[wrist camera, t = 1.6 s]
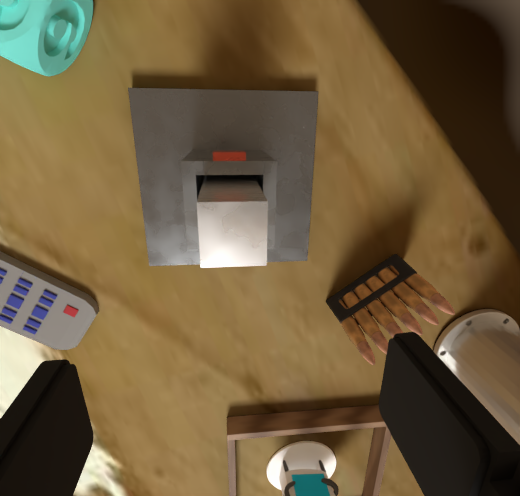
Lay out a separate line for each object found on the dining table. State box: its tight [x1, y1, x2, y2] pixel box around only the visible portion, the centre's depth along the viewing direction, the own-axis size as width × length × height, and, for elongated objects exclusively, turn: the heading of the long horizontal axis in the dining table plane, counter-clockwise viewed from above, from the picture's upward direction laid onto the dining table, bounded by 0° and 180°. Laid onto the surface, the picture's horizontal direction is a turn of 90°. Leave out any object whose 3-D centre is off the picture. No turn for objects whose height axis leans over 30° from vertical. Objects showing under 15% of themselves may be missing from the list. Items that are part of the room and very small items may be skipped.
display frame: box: [227, 405, 391, 496], centre depth 52 cm, size 24×24×3 cm
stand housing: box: [128, 88, 318, 266], centre depth 31 cm, size 18×18×12 cm
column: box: [197, 175, 268, 268], centre depth 27 cm, size 4×4×16 cm
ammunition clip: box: [326, 254, 455, 365], centre depth 37 cm, size 11×2×12 cm, turn 126°
